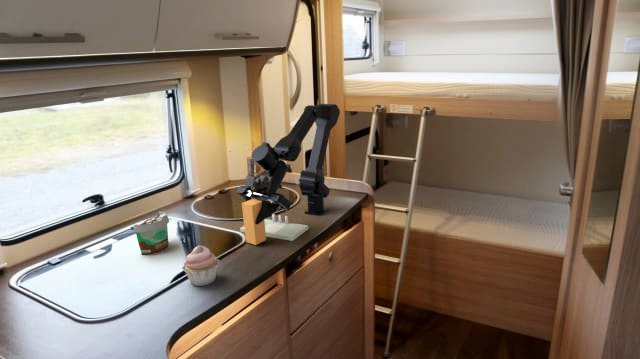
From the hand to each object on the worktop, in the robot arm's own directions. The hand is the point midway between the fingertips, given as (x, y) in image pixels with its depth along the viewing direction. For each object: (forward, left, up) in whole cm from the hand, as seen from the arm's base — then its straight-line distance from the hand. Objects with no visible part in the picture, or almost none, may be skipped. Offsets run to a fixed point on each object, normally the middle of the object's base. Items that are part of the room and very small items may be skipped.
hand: (250, 222), depth 136 cm
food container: (+14, -25, -7) cm, 29 cm away
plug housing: (-1, 0, -7) cm, 7 cm away
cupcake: (+24, +1, -7) cm, 25 cm away
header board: (-11, 0, -7) cm, 13 cm away
